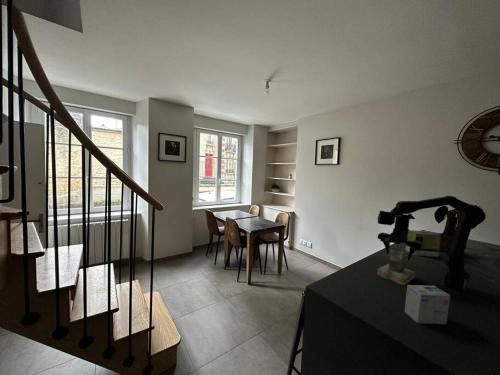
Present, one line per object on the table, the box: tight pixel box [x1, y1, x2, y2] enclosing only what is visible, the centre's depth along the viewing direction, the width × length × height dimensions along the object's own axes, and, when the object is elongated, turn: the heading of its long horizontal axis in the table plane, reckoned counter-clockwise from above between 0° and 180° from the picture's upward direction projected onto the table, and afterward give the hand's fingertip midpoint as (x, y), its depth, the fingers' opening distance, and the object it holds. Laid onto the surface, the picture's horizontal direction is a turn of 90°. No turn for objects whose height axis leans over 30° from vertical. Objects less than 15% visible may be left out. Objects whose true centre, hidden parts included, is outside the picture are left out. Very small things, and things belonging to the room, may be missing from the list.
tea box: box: [405, 229, 440, 258], centre depth 147 cm, size 15×10×15 cm, turn 84°
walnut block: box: [389, 259, 406, 273], centre depth 110 cm, size 5×5×5 cm
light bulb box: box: [404, 284, 451, 325], centre depth 78 cm, size 11×7×11 cm, turn 92°
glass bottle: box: [437, 211, 467, 253], centre depth 153 cm, size 18×18×28 cm
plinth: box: [376, 262, 416, 286], centre depth 111 cm, size 12×14×3 cm
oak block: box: [389, 248, 407, 263], centre depth 110 cm, size 5×5×5 cm
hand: (397, 257), depth 110 cm, fingers open, 9 cm apart
